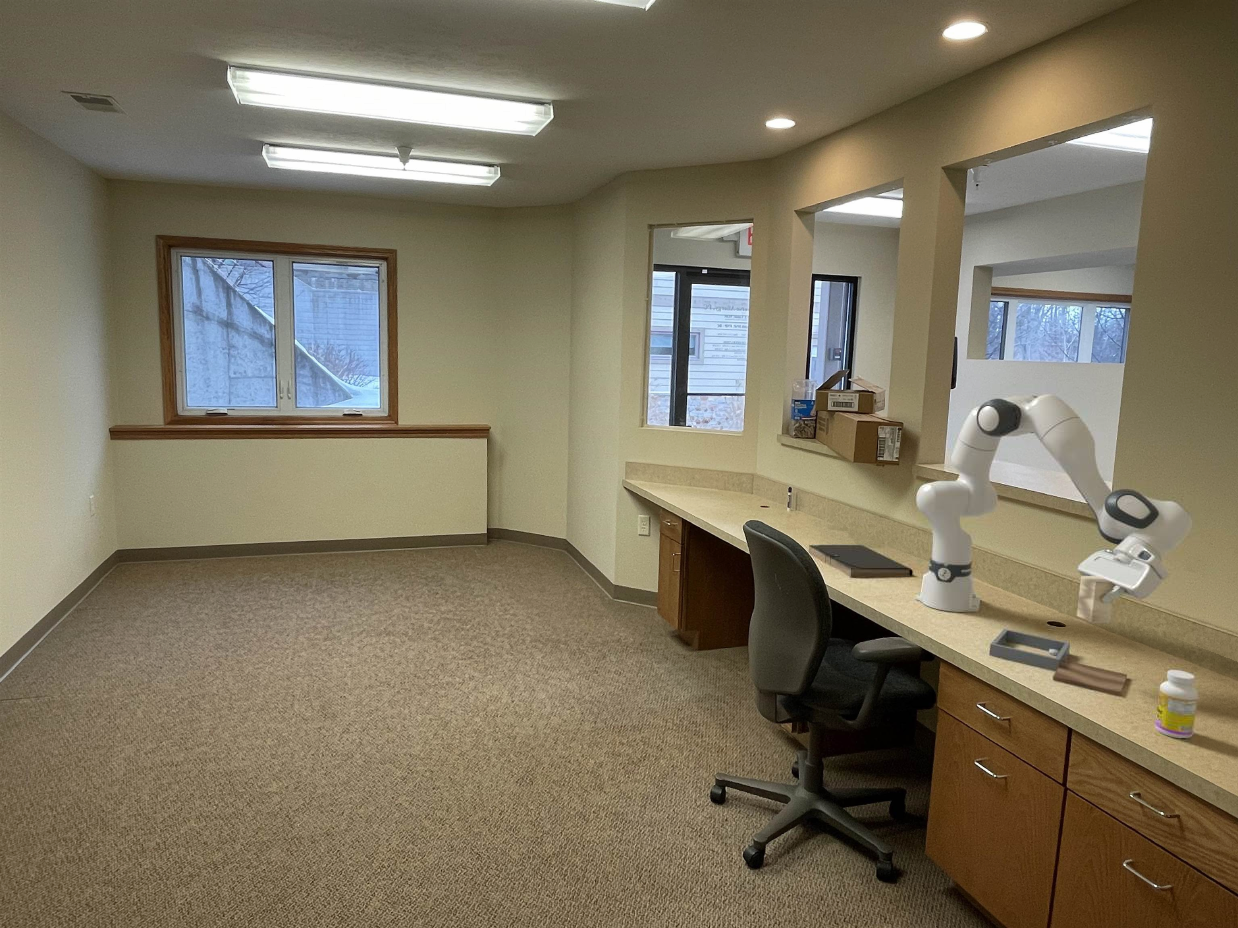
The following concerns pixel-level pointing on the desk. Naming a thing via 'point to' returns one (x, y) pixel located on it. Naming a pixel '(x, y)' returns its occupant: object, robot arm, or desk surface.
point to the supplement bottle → (1177, 705)
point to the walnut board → (1090, 677)
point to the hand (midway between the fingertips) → (1093, 597)
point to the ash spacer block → (1094, 599)
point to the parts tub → (1043, 661)
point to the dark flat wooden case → (858, 561)
